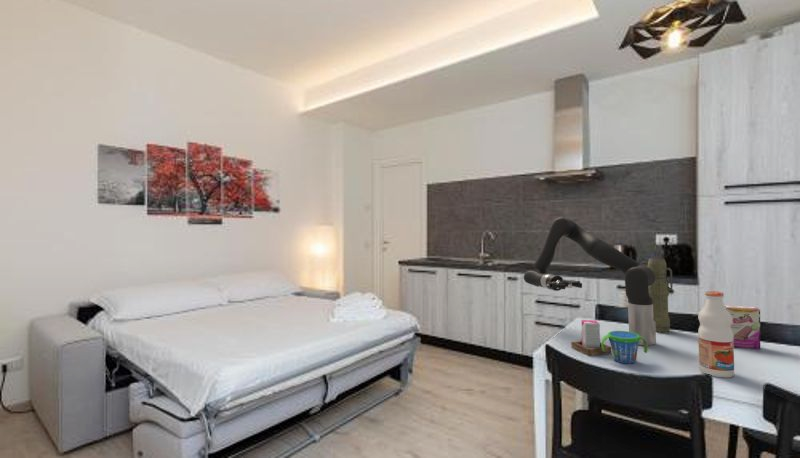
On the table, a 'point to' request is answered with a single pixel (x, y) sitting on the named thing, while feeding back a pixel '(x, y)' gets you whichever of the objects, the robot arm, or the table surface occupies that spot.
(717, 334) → the fruit juice
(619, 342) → the snack cup
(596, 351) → the wooden square frame
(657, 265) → the thermos
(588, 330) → the supplement box
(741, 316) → the candy bar box
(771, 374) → the table surface
